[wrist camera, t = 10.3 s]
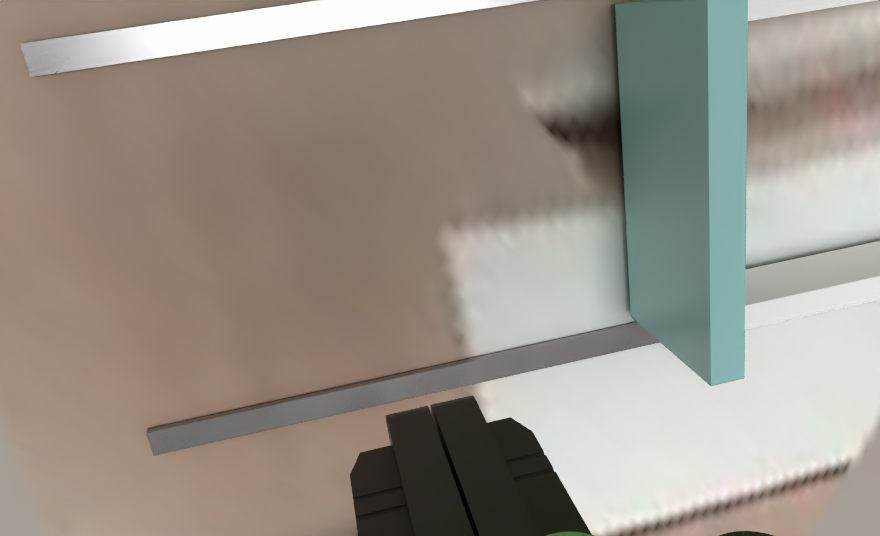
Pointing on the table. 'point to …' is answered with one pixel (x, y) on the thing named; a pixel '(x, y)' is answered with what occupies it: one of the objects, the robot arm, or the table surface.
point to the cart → (708, 188)
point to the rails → (337, 8)
